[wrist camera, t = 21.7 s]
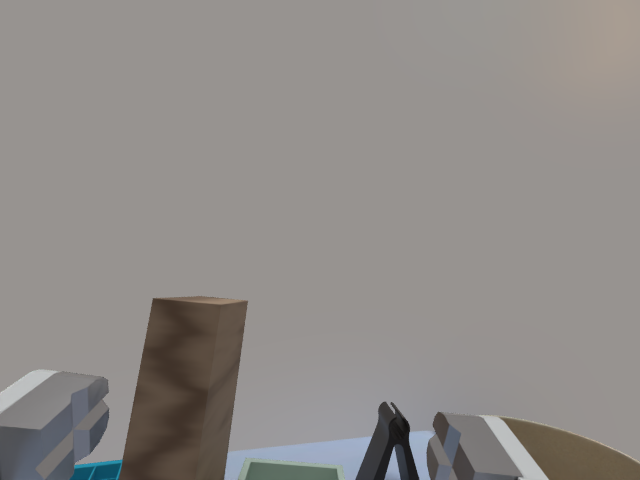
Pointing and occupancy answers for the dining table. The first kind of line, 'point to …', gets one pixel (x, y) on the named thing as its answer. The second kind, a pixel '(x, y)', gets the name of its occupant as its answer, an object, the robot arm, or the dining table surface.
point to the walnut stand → (185, 390)
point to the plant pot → (571, 453)
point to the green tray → (288, 470)
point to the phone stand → (388, 447)
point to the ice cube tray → (98, 471)
